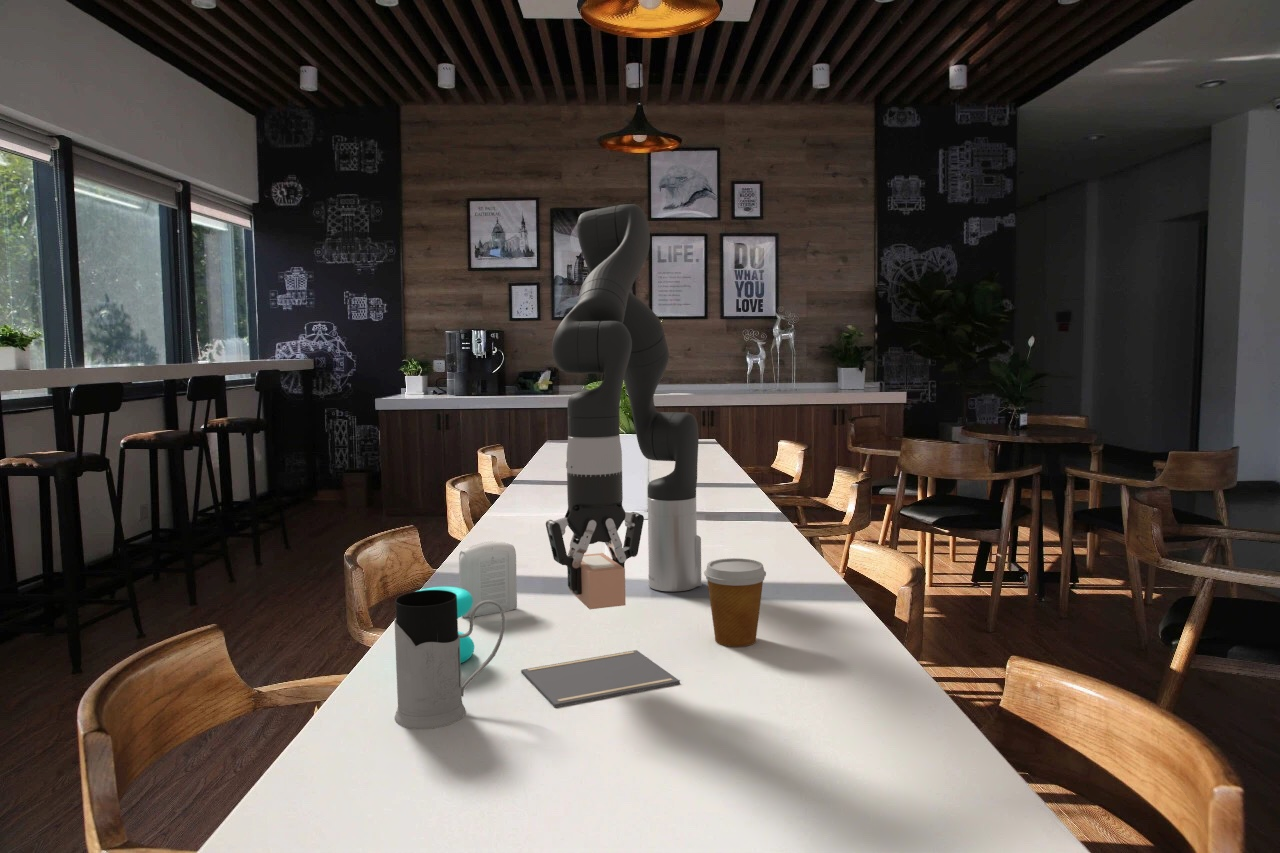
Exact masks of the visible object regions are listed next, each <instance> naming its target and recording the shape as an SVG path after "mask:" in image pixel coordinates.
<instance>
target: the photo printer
mask: <svg viewBox="0 0 1280 853" xmlns="http://www.w3.org/2000/svg"><path fill="white" fill-rule="evenodd" d="M516 552H517V551H516V549H515V546H514V544H512V543H509V542H505V541H497V540H495V541H493V540H492V541H483V542H478V543H475V544H472V545H470V546H468V547H466V548H463V549H461V550H460V552H459V557H458V575H459V576H458V577H459V579H458V580H459V584H458V586H459V588H461V589H464V590H466V591H468V592H469V593H470V594H471V596H472V599H473V604H472V607H471V609H470V610H469V611H468V612H467V613H466V614H465V615H463V616H462V617H463V618H465V619H467V618H470V615H471V612H472V610H473V608H474V607H475V606H476V605H477V604H478V603H479V602H482V601H484V600H491V601H495V602H497V603H498V604H500V605H501V607H502V609H503V610H504V612H507V611H514V610H513V609H515V610H516V609H517V606H518V594H517V592H518V590H517V587H518V585H517V584H518V583H517V553H516ZM496 613H501V611H500V609H499V607H498V606H496V605H495V604H491V603H486V604H483V605H481V606H480V607H479V608H478V609H477V611H476V612H475V615H474V617H480V616H484V615H490V614H496Z"/></svg>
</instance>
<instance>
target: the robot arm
mask: <svg viewBox="0 0 1280 853" xmlns="http://www.w3.org/2000/svg"><path fill="white" fill-rule="evenodd" d="M576 230H577V231H576V232H577V240H578V242H579V247H580V250H581V254H582V256H583V259H584V262H585V264H586V267H587V269H588V272H589V274H588V275H587V276H586V278H585V279H584V281H583V283H582V285H581V287H580V290H579V294H578V298H577V302H576V304H575V305H574V307H572V309H571V310H570V311H569V312H568V313H567V314H566V316H565V317H564V318H563V319H562V321H561V322H560V323H559V324H558V326H557V328H556V330H555V332H554V336H553V338H552V343H551V354H552V358H553V362H554V363H555V364H556V366H557V367H558V368H559V369H560V370H561V371H562V372H565V373H568V374H604V377H603V381H602V382H601V383H600V385H599V386H597V387H595V388H592V389H588V390H583V391H578V392H575V393H573V394H571V395H569V398H568V400H567V435H568V436H567V445H566V446H567V447H566V462H565V468H566V480H567V481H566V488H567V490H566V493H567V495H566V496H567V511H566V513H565V515H564V517H561V518H558V519H556V520H553V519H548V520H546V521H545V527H546V532H547V536H548V540H549V544H550V549H551V553H552V554H551V555H552V558H553V560H554V561H555V562H557V563H558V564H560V565H562V566H566V568H567V586H568V589H569V591H570V590H572V592H573V593H574V594H576V595H580V594H582V579H581V568H580V565H581V562H582V559H583V556H584V555H585V554H586V553H587V551H588V548H589V545H593V544H596V543H604V544H605V546H607V548H608V551H609V554H610V556H611V557H610V558H611V559H612V560H614V561H615V562H616V563H618V564H619V565H621V566H622V567H623V568H625V563H626V561H627V560H628V559H630V558H635V557H637V555H638V554H639V548H640V542H641V538H642V537H641V536H642V531H643V526H644V522H645V517H644V515H643V514H640V513H638V512H635V511H632V512H627V511H626V510H625V509H624V506H623V498H624V496H623V450H622V445H621V444H622V443H621V438H620V437H621V436H620V434H621V431H620V429H621V427H620V404H621V396H622V388H623V383H624V386H625V389H626V392H627V395H628V400H629V406H630V409H631V415H632V419H633V424H634V425H633V426H634V431H635V435H636V439H637V440H636V441H637V444H638V447H639V449H640V453H641V454H642V456H644V458H645V459H648V460H650V461H658V462H674V469H673V471H671V472H670V473H669V474H666V475H664V476H661V477H658V478H656V479H653V480H651V481H649V483H648V484H647V535H648V536H647V537H648V544H647V545H648V549H647V550H648V586H649V588H651V589H653V590H656V591H662V592H683V591H689V590H693V589H695V588H697V587H701V586H702V537H701V536H700V535H698V534H697V532H698V531H697V525H698V524H697V487H698V486H697V484H698V463H699V462H698V457H699V425H698V421H697V418H696V417H695V415H694V414H692V413H691V412H683V411H682V412H679V411H677V412H672V411H671V412H670V411H665V412H664V411H659V410H657V408H656V405H655V401H654V396H655V394H656V390H657V387H658V385H659V384H660V381H661V380H662V377H663V376H664V373H665V371H666V368H667V366H668V363H669V358H670V357H669V356H670V354H669V353H670V352H669V351H670V350H669V347H668V342H667V339H666V338H667V337H666V335H665V331H664V327H663V324H662V322H661V319H659V317H658V316H657V314H656V313H655V312H654V311H653V310H652V309H651V308H650V307H649V306H648V305H646V304H645V303H644V302H643V300H641V299H640V298H638V297H637V296H636V295H635V294H634V293H632V291H631V289H632V287H633V285H634V283H635V281H636V279H637V278H638V276H639V274H640V272H641V270H642V268H643V265H644V263H645V262H646V259H647V257H648V255H649V251H650V246H651V245H650V244H651V236H650V235H651V234H650V227H649V223H648V220H647V216H646V214H645V211H644V210H643V209H642V207H640V206H639V205H638V204H634V203H633V204H631V203H627V204H626V203H625V204H619V205H613V206H607V207H601V208H597V209H593V210H588V211H585V212H583V213H581V214H580V215H579V216H578V219H577V223H576ZM623 522H624V525H625V527H626V530H625V536H624V542H622V540H621V538H620V534H619V533H618V531H619V529H620V527H621V525H622V524H623ZM567 526H568V528H569V529H570V531H572V537H571V540H570V543H569V550H568V552H567V548H566V546H565V541H564V535H565V533H566V528H567ZM625 569H626V568H625ZM572 592H571V593H572ZM573 593H572V594H573ZM574 594H573V595H574Z"/></svg>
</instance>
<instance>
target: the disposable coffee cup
mask: <svg viewBox="0 0 1280 853" xmlns="http://www.w3.org/2000/svg"><path fill="white" fill-rule="evenodd" d="M703 574H704V576H705V579H706V581H707V588H708V593H709V601H710V602H709V603H710V610H711V615H712V625H713V632H714V633H713V634H714V641H715V643H717V644H719V645H720V646H721V645H722V646H726V647H731V648H732V647H733V648H739V647H740V648H741V647H748V646H751V645H753V644H755V643H756V641H757V634H758V625H759V624H758V623H759V619H760V618H759V616H760V608H761V600H762V592H763V584H764V581H765V577H766V576H767V571H766V570H765V568H764V564H763V563H762V562H760V561H757V560H754V559H751V558H738V557H737V558H735V557H734V558H731V557H730V558H719V559H714V560H711V561H709V562H708V563H707V565H706V568H705V570H704V571H703Z"/></svg>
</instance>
